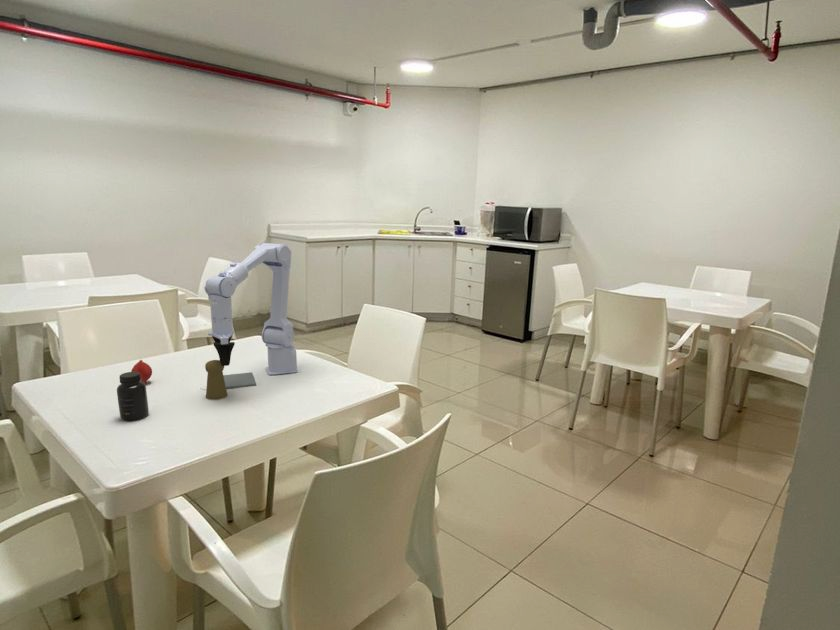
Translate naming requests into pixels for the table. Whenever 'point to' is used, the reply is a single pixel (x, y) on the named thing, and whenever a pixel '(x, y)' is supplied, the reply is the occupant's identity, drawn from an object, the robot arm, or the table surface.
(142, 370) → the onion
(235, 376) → the placemat
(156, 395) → the table surface
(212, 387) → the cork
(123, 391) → the supplement bottle
